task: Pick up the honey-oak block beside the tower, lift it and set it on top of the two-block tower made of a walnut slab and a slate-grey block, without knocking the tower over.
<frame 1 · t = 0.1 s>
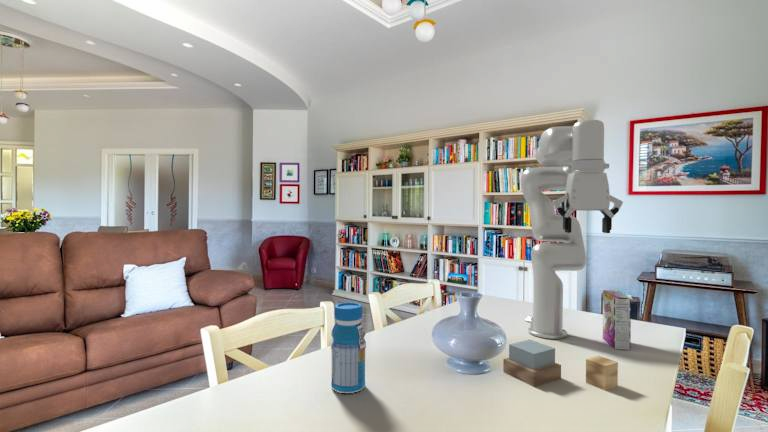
hand: (586, 232, 107), 37 cm above the table, tool pointing down, fingers open, 9 cm apart
slate-grey block: (531, 361, 105), point 4 cm above the table, touching walnut slab
candy bar box: (615, 345, 129), on the table
walnut slab: (531, 377, 105), on the table, touching slate-grey block
beverage bottle: (348, 388, 98), on the table
oak block: (601, 384, 100), on the table
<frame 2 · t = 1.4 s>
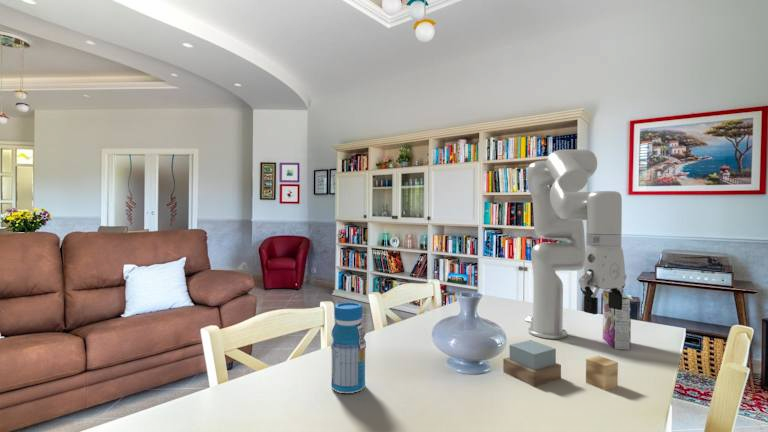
hand: (603, 310, 99), 18 cm above the table, tool pointing down, fingers open, 9 cm apart
nothing on the table moved.
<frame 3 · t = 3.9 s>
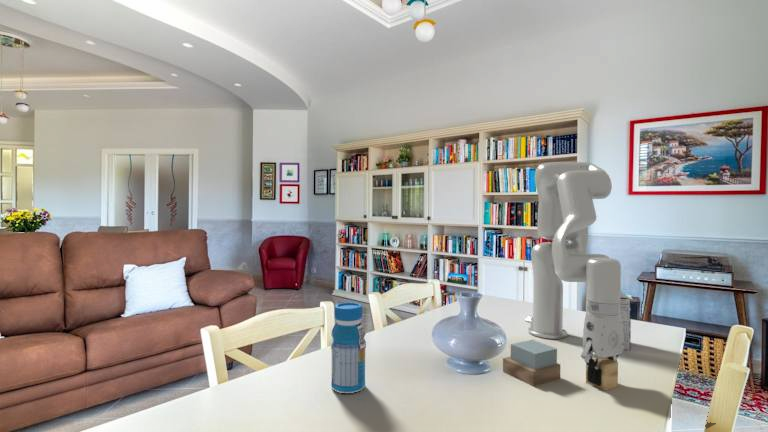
hand: (601, 380, 100), 1 cm above the table, tool pointing down, fingers closed on oak block, 4 cm apart
oak block: (601, 384, 100), on the table, touching gripper
everything else where it was.
when the fingers open (10 cm above the table, at t = 10.8 s): oak block drops 1 cm, point 8 cm above the table.
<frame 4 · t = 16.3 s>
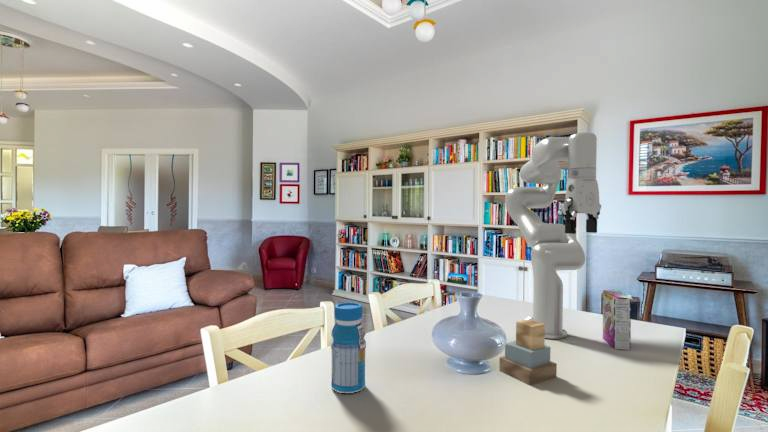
hand: (581, 232, 120), 36 cm above the table, tool pointing down, fingers open, 9 cm apart
slate-grey block: (527, 360, 106), point 4 cm above the table
walnut slab: (527, 375, 106), on the table
oak block: (530, 345, 106), point 8 cm above the table
everything else where it was.
at the end: oak block 0.6 cm off-centre on the slate-grey block, point 4.0 cm above the slate-grey block's base; oak block tilted 0°; slate-grey block moved 1.3 cm from its start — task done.
